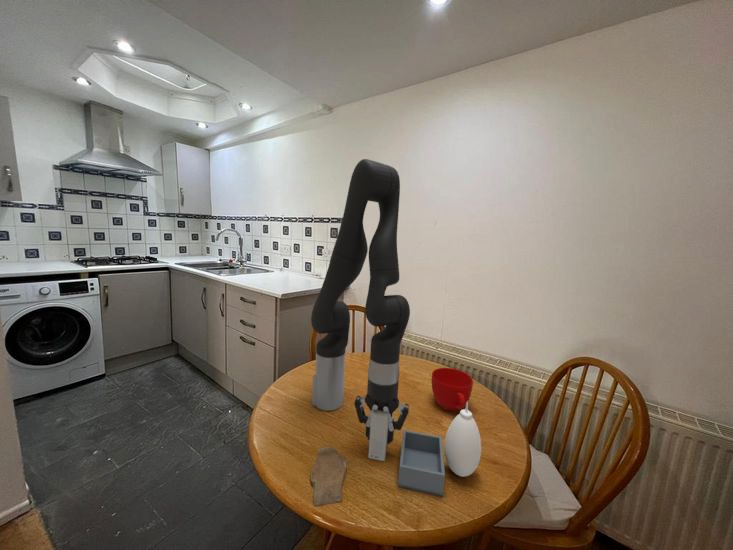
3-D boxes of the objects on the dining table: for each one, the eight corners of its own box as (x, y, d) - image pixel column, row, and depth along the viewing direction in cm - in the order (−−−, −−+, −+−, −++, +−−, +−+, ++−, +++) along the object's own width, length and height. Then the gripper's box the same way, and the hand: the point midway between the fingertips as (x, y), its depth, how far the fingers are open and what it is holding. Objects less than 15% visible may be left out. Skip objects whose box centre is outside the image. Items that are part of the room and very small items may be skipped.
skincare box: (385, 462, 68) (388, 416, 66) (367, 458, 69) (370, 413, 67) (388, 444, 74) (391, 402, 72) (372, 441, 75) (374, 399, 73)
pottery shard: (307, 458, 70) (312, 509, 56) (308, 448, 70) (312, 497, 55) (340, 453, 72) (353, 502, 58) (341, 444, 72) (354, 490, 58)
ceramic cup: (438, 425, 83) (441, 393, 81) (425, 393, 99) (427, 366, 98) (482, 426, 83) (485, 395, 82) (461, 394, 100) (464, 368, 98)
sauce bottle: (484, 477, 65) (493, 405, 63) (462, 492, 61) (471, 416, 58) (457, 455, 71) (464, 388, 69) (435, 467, 67) (442, 397, 65)
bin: (398, 486, 61) (399, 466, 61) (402, 447, 73) (403, 429, 72) (442, 496, 59) (444, 475, 59) (439, 454, 71) (441, 436, 70)
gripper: (351, 378, 66) (348, 444, 68) (412, 388, 63) (406, 456, 66) (358, 365, 73) (355, 425, 76) (413, 373, 71) (408, 435, 73)
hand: (379, 439), depth 71 cm, fingers closed on skincare box, 4 cm apart
